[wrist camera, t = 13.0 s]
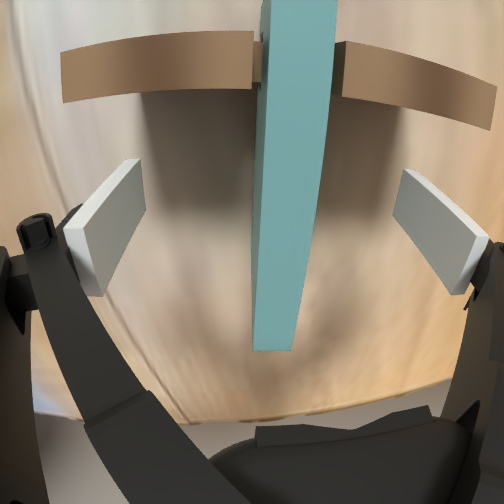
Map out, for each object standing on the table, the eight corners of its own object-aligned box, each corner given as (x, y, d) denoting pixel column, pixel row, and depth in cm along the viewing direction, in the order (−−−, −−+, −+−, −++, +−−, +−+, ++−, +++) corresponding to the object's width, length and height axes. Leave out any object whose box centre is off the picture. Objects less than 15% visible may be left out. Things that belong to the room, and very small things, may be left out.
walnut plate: (138, 81, 20) (63, 103, 11) (138, 51, 19) (60, 52, 10) (401, 96, 21) (489, 130, 12) (404, 68, 19) (497, 86, 10)
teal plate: (261, 7, 17) (273, -32, 8) (296, 10, 17) (338, -23, 8) (251, 249, 28) (252, 351, 20) (278, 250, 29) (290, 351, 20)
